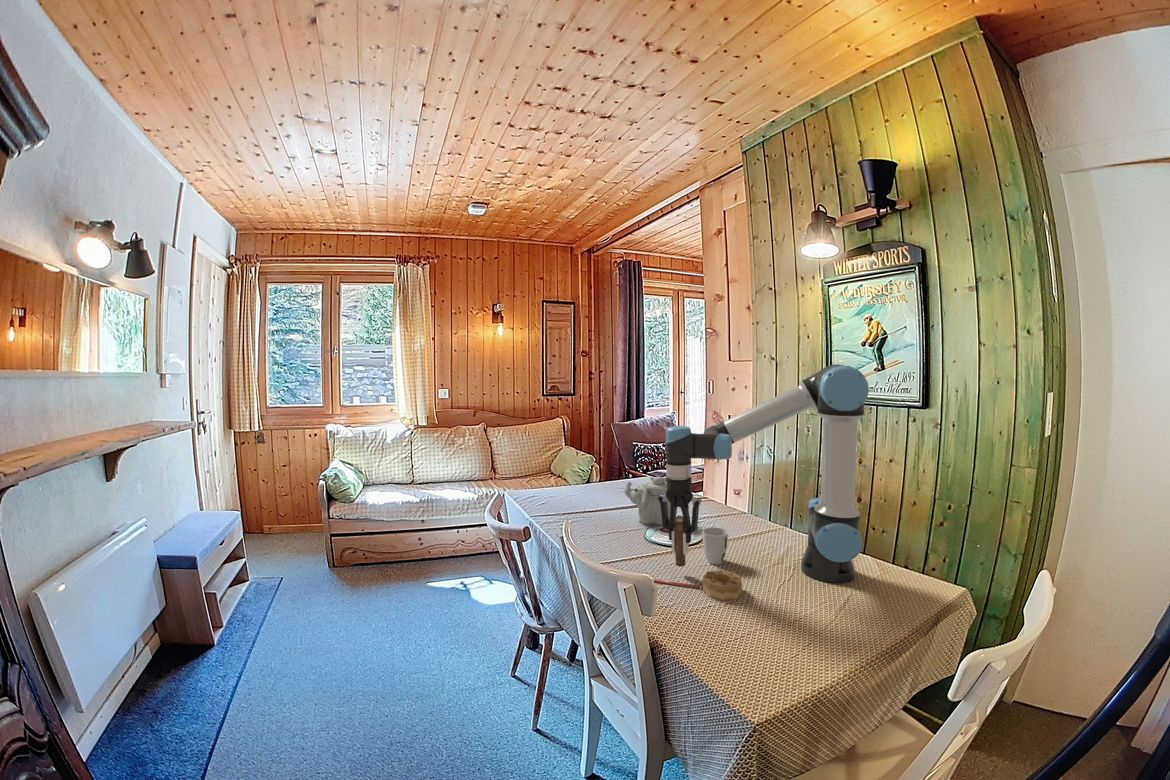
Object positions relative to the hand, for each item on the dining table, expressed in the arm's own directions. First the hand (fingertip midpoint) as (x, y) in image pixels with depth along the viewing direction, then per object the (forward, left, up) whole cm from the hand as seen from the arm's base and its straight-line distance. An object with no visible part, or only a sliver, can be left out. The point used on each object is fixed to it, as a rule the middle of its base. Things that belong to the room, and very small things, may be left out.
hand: (680, 551), depth 164 cm
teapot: (+28, -41, -8) cm, 50 cm away
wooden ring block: (-14, +5, -7) cm, 17 cm away
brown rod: (0, 0, -4) cm, 4 cm away
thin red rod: (-1, +8, -7) cm, 11 cm away
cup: (-6, -15, -8) cm, 18 cm away
